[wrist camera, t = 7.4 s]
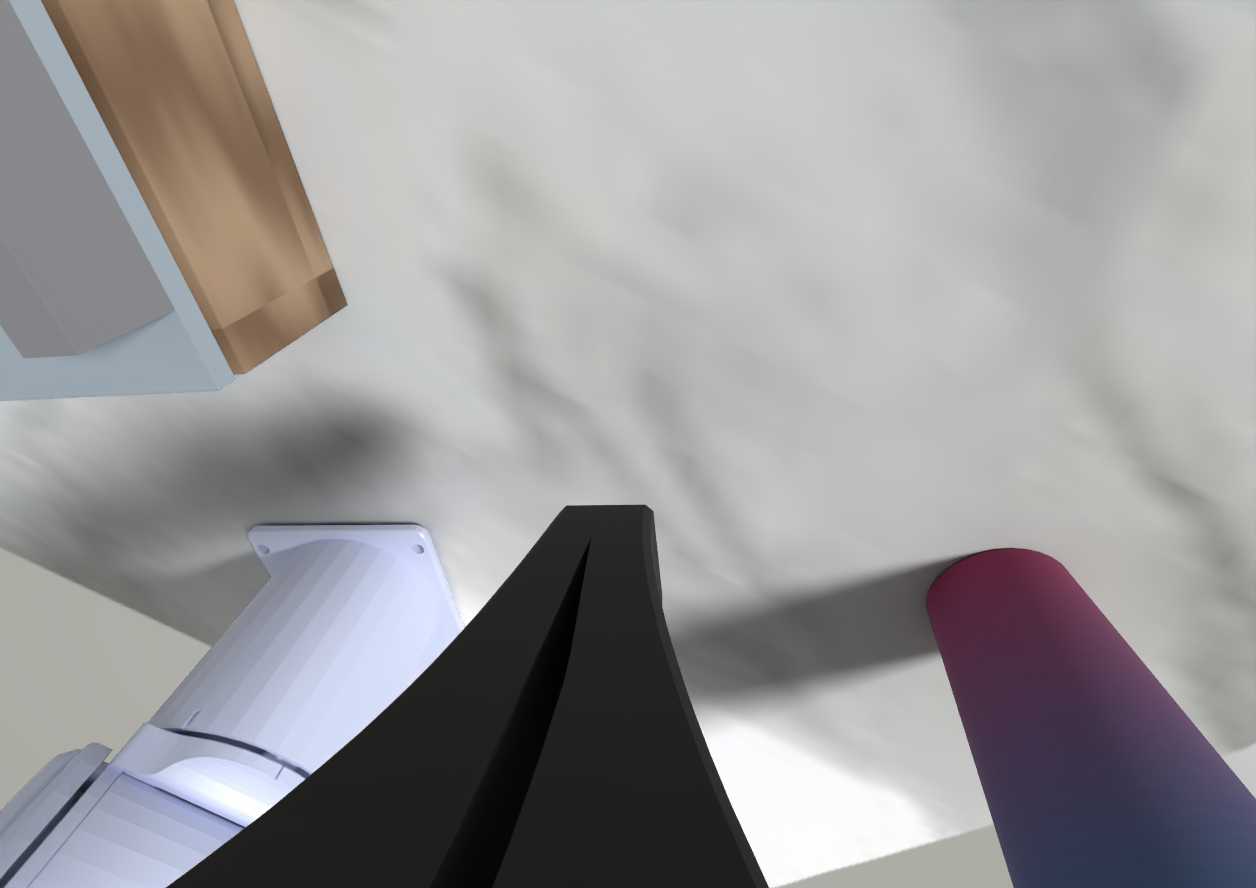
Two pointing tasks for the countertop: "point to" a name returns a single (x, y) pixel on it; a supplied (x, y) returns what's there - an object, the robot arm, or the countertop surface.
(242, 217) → the walnut box
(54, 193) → the lid
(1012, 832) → the cup
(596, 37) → the countertop surface
